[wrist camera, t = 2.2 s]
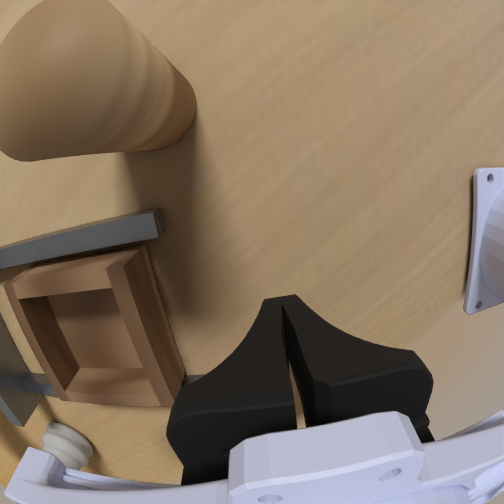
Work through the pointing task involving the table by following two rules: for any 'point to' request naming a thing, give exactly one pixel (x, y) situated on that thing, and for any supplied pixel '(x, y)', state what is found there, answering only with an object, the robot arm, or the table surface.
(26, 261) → the rail
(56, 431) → the rook chess piece
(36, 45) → the oak dowel
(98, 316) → the walnut socket block
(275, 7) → the table surface
